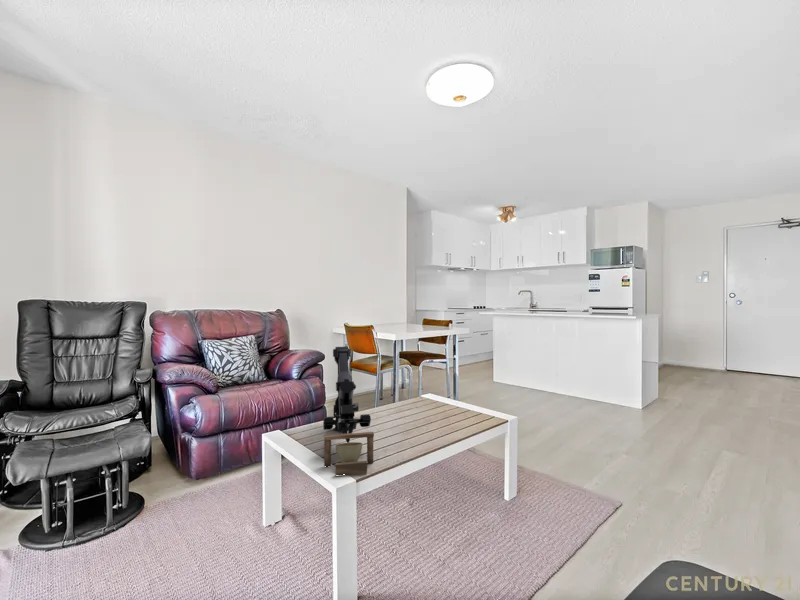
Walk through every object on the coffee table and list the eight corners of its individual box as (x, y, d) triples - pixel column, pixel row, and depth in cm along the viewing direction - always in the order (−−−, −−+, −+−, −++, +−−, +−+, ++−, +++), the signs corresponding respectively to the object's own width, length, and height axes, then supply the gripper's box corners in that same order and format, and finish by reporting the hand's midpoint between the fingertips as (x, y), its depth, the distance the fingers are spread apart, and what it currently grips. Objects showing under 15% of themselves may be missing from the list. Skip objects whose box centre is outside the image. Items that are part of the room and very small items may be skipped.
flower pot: (350, 460, 151) (349, 441, 152) (368, 463, 144) (367, 443, 146) (330, 465, 143) (329, 445, 145) (348, 468, 137) (347, 447, 138)
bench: (324, 464, 145) (324, 435, 145) (372, 460, 149) (372, 431, 149) (324, 477, 135) (324, 445, 135) (377, 472, 139) (377, 441, 139)
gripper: (323, 396, 153) (324, 434, 143) (370, 394, 158) (374, 430, 147) (323, 411, 161) (323, 447, 150) (367, 408, 165) (371, 443, 155)
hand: (348, 442), depth 150 cm, fingers closed
